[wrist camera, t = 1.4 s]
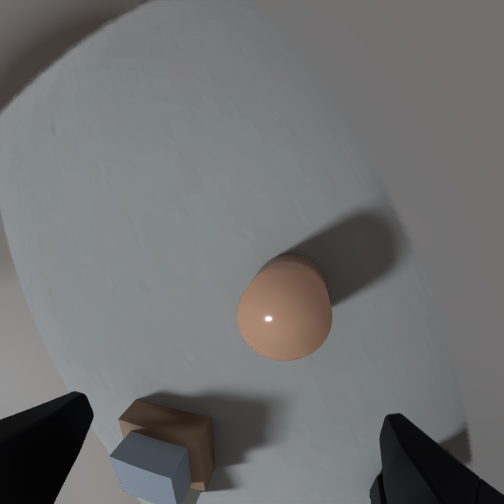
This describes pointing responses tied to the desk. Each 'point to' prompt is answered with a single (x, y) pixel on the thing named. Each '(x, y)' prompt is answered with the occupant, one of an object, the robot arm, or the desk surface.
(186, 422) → the tower base
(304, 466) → the desk surface
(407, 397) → the desk surface
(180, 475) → the tower mid
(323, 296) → the clay cylinder
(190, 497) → the block
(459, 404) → the desk surface
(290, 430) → the desk surface
